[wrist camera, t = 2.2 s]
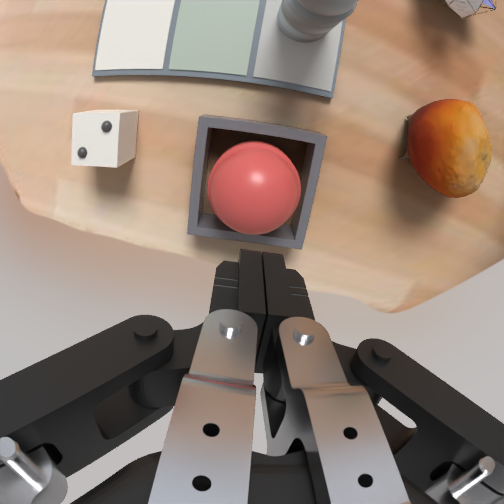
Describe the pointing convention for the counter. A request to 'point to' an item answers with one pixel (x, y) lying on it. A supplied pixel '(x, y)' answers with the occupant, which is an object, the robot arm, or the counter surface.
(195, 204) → the gray square tray
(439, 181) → the fruit
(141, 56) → the game board
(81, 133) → the die
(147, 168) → the counter surface
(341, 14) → the ridged rounded cylinder
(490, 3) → the geometric puzzle
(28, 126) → the counter surface
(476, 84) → the counter surface
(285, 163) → the dome
